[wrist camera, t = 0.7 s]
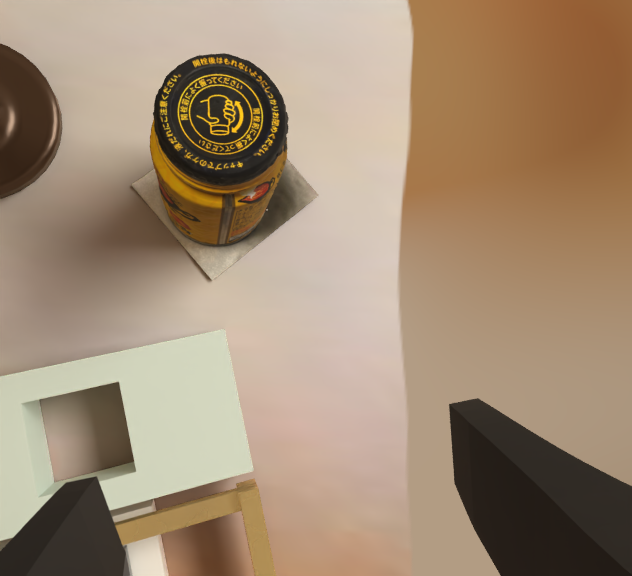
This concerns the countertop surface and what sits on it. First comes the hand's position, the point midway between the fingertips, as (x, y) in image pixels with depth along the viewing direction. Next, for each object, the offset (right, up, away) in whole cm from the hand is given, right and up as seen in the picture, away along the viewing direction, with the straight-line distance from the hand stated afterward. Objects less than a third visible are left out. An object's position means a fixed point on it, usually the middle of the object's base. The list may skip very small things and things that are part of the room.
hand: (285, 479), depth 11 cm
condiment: (-5, +10, +22) cm, 24 cm away
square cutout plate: (-12, -4, +19) cm, 22 cm away
